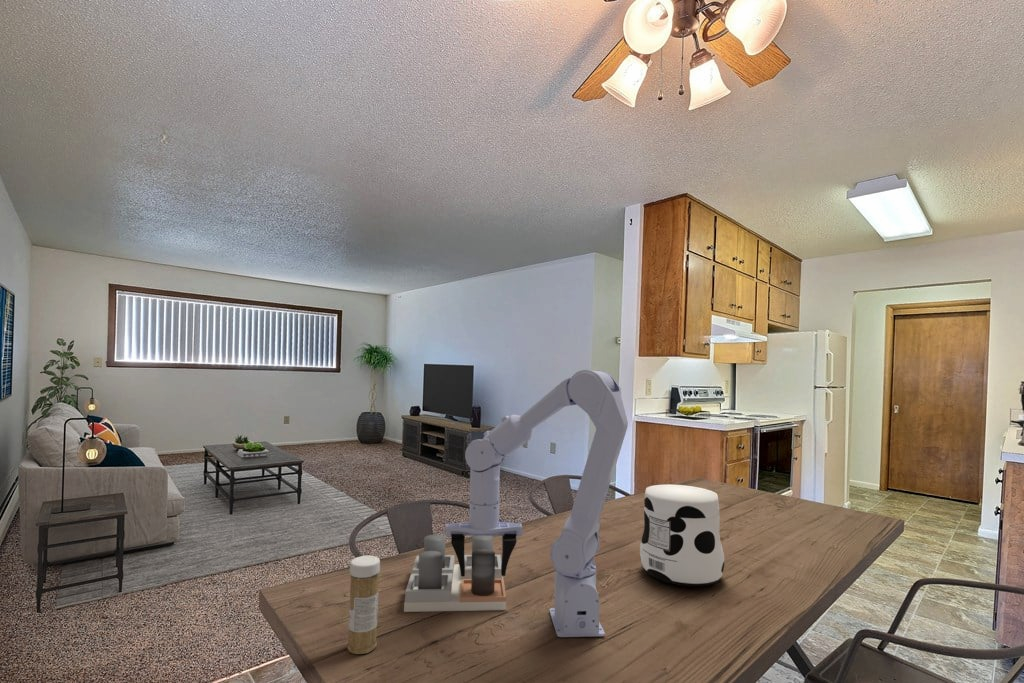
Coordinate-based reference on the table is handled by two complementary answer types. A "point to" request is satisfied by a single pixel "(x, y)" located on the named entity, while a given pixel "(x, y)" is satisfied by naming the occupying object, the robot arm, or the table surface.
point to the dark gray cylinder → (483, 572)
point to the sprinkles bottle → (363, 604)
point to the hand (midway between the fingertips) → (483, 574)
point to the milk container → (682, 535)
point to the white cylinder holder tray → (450, 580)
